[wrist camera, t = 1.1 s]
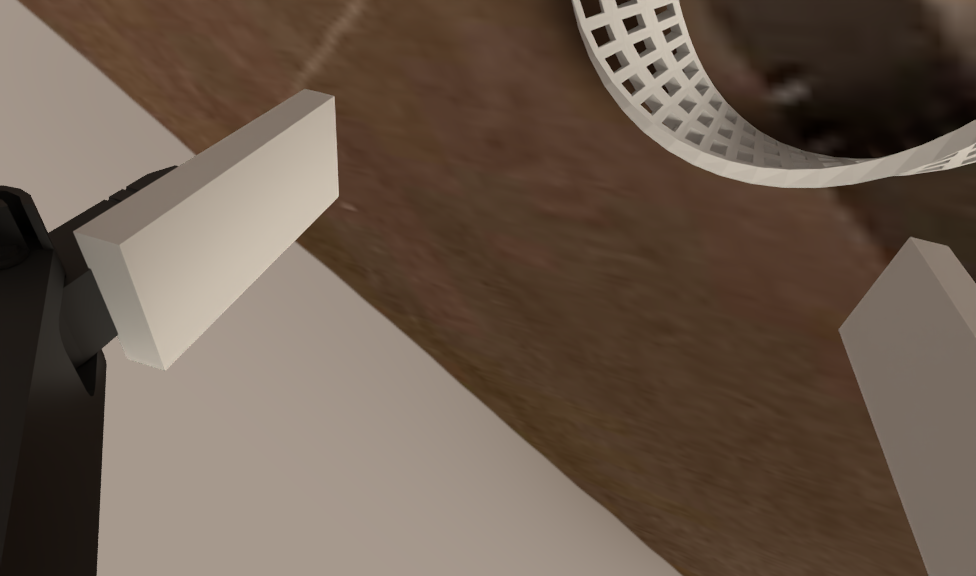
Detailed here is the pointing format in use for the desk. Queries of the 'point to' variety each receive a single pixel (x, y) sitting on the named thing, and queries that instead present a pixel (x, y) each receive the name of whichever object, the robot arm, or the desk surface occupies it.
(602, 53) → the decorative object
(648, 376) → the desk surface
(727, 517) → the desk surface
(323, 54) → the desk surface
